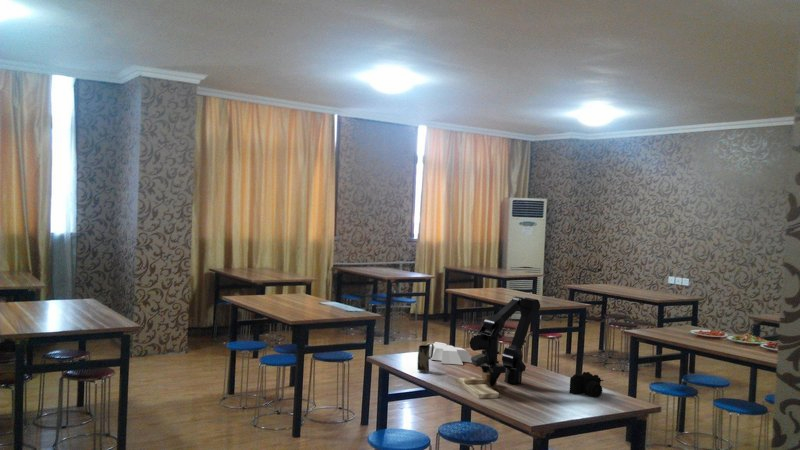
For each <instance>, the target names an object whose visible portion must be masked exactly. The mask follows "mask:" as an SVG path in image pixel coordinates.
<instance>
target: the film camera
mask: <svg viewBox="0 0 800 450" xmlns="http://www.w3.org/2000/svg"><path fill="white" fill-rule="evenodd" d="M601 382H604V380H603V379H601V377H599V374H592V373H591V372H589V371H582V374H578V373H576V374H573V375H572V376H571V377H570V378H569V390H568V391H569V394H571V395H588V396H590V397H591V398H592V397H593V398H598V397H600V396H601V395H602V394H603V386H602V384H601Z"/></svg>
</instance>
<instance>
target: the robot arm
mask: <svg viewBox="0 0 800 450" xmlns="http://www.w3.org/2000/svg"><path fill="white" fill-rule="evenodd" d="M540 309H541V303H540V300H539V299H538V298H537V299H536V298H531V297H521V296H518V295H517V296H516V295H515V296H513V297H512V298H511V300H510V301H509V302H508V303H507V304H505V306H503V308H501V310H499V311H497V313H495V314H493V315H490V316H488V317H487V318H485V319H484V320H483V323H482V325H481V327H479V330H478V332H477V333H474V334H473V337H471V338H470V341H469V347H470V349H471V350H472V351H474V352H475V351H476V352H477V351H481V353H479V354H476V355H474V356H472V357H471V361H472V363H471V364H472V365H473V366H474V367H476V368H478V367H479V368H480V369H481V371H482V373H483V372H488V373H489V374H490V383H491V386H494V384H495V383H496V381H497V382H498V379H499V377H500V375H501V374H504V380H503V382H505V383H506V384H508V385H509V386H516V385H518V386H519V385H521V386H522V385H524V383H523V382H522V377H523V373H524V372H526V367H527V366H526V364H525V363H524V362H523V357H524V356H523V350H522V349H523V345H524V344H525V341H526V337H527V334H528V331H529V328H530V325H531V323H532V321H533V319H534V318H535V317H536V316H537V315H538V313H539V311H540ZM517 311H519V312H520V318H519V320H518V323H517V326H516V329H515V332H514V335H513V337H512V341H511V344H510V345H509V346H508V347H506V346H505V347H504V348H503V349H504V350H503V352H502V354H501V361H502V364H501V363H500V360H498V355H500V351H499V350H498V349H499V339H500V338H503V336H502V335H501V334H500V332H501V331H502V330H503V328H504V327H505V323H506V322H507V321H508V320H509V319H510V318H511V317H512V316H513V315H514V314H515V313H516V312H517Z"/></svg>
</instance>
